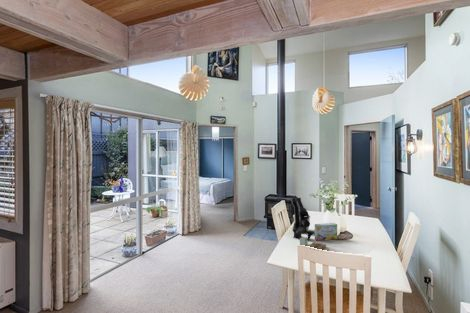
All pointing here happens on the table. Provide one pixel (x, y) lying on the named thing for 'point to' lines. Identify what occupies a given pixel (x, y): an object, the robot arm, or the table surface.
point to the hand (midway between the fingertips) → (303, 240)
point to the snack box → (325, 231)
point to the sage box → (303, 241)
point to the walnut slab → (318, 245)
